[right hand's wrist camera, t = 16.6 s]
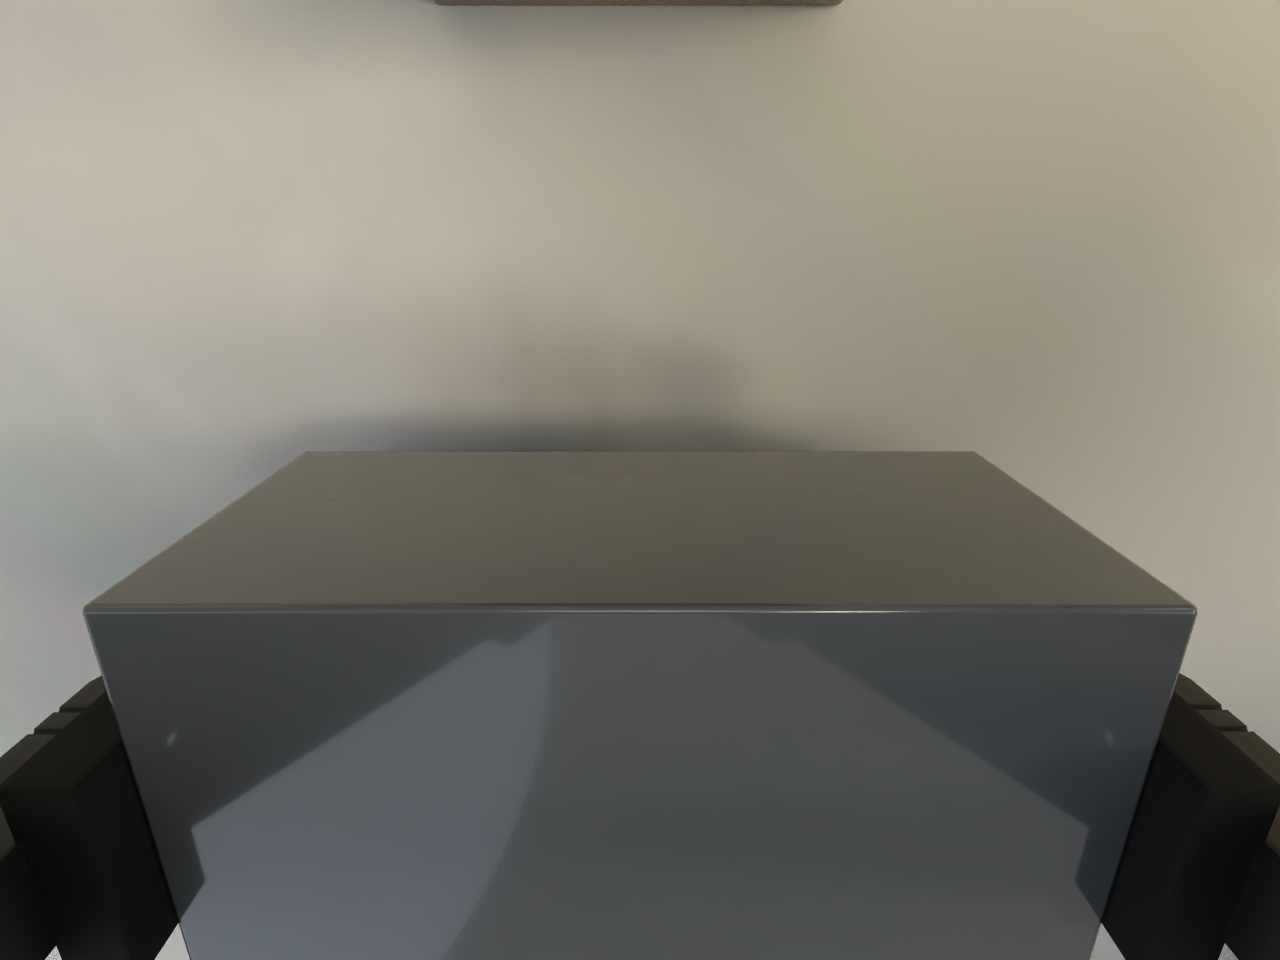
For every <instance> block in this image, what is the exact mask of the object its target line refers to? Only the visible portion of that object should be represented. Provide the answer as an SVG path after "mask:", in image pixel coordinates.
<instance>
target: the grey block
mask: <svg viewBox="0 0 1280 960" xmlns="http://www.w3.org/2000/svg"><path fill="white" fill-rule="evenodd" d="M83 616H84V619H85V622H86V625H87V629H88V632H89V635H90V638H91V641H92V645H93V648H94V651H95V654H96V658H97V661H98V664H99V667H100V670H101V674H102V677H103V680H104V683H105V687H106V690H107V693H108V696H109V699H110V703H111V706H112V709H113V712H114V716H115V719H116V722H117V725H118V728H119V732H120V735H121V738H122V741H123V745H124V748H125V751H126V754H127V758H128V761H129V764H130V767H131V770H132V774H133V777H134V780H135V783H136V787H137V790H138V793H139V796H140V799H141V803H142V806H143V809H144V812H145V816H146V819H147V822H148V825H149V828H150V832H151V835H152V838H153V841H154V845H155V848H156V851H157V854H158V857H159V861H160V864H161V867H162V870H163V874H164V877H165V880H166V883H167V886H168V890H169V893H170V896H171V899H172V903H173V906H174V909H175V912H176V915H177V919H178V922H179V925H180V928H181V932H182V935H183V938H184V941H185V944H186V948H187V951H188V954H189V957H190V960H1090V958H1091V955H1092V951H1093V948H1094V945H1095V942H1096V938H1097V935H1098V932H1099V929H1100V926H1101V922H1102V919H1103V916H1104V913H1105V909H1106V906H1107V903H1108V900H1109V897H1110V893H1111V890H1112V887H1113V884H1114V880H1115V877H1116V874H1117V871H1118V868H1119V864H1120V861H1121V858H1122V855H1123V851H1124V848H1125V845H1126V842H1127V839H1128V835H1129V832H1130V829H1131V826H1132V822H1133V819H1134V816H1135V813H1136V810H1137V806H1138V803H1139V800H1140V797H1141V793H1142V790H1143V787H1144V784H1145V781H1146V777H1147V774H1148V771H1149V768H1150V765H1151V761H1152V758H1153V755H1154V752H1155V748H1156V745H1157V742H1158V739H1159V736H1160V732H1161V729H1162V726H1163V723H1164V719H1165V716H1166V713H1167V710H1168V707H1169V703H1170V700H1171V697H1172V694H1173V690H1174V687H1175V684H1176V681H1177V678H1178V674H1179V671H1180V668H1181V665H1182V661H1183V658H1184V655H1185V652H1186V649H1187V645H1188V642H1189V639H1190V636H1191V632H1192V629H1193V626H1194V623H1195V620H1196V616H1197V608H1196V606H1195V605H1194V604H1193V603H1191V602H1190V601H1188V600H1187V599H1185V598H1184V597H1183V596H1181V595H1180V594H1178V593H1177V592H1175V591H1174V590H1173V589H1171V588H1170V587H1168V586H1167V585H1165V584H1164V583H1163V582H1161V581H1160V580H1158V579H1157V578H1155V577H1154V576H1152V575H1151V574H1150V573H1148V572H1147V571H1145V570H1144V569H1142V568H1141V567H1140V566H1138V565H1137V564H1135V563H1134V562H1132V561H1131V560H1130V559H1128V558H1127V557H1125V556H1124V555H1122V554H1121V553H1120V552H1118V551H1117V550H1115V549H1114V548H1112V547H1111V546H1109V545H1108V544H1107V543H1105V542H1104V541H1102V540H1101V539H1099V538H1098V537H1097V536H1095V535H1094V534H1092V533H1091V532H1089V531H1088V530H1087V529H1085V528H1084V527H1082V526H1081V525H1079V524H1078V523H1076V522H1075V521H1074V520H1072V519H1071V518H1069V517H1068V516H1066V515H1065V514H1064V513H1062V512H1061V511H1059V510H1058V509H1056V508H1055V507H1054V506H1052V505H1051V504H1049V503H1048V502H1046V501H1045V500H1044V499H1042V498H1041V497H1039V496H1038V495H1036V494H1035V493H1033V492H1032V491H1031V490H1029V489H1028V488H1026V487H1025V486H1023V485H1022V484H1021V483H1019V482H1018V481H1016V480H1015V479H1013V478H1012V477H1011V476H1009V475H1008V474H1006V473H1005V472H1003V471H1002V470H1001V469H999V468H998V467H996V466H995V465H993V464H992V463H990V462H989V461H988V460H986V459H985V458H983V457H982V456H980V455H979V454H978V453H976V452H304V453H302V454H301V455H300V456H298V457H297V458H295V459H294V460H292V461H291V462H290V463H288V464H287V465H285V466H284V467H282V468H281V469H280V470H278V471H277V472H275V473H274V474H272V475H271V476H269V477H268V478H267V479H265V480H264V481H262V482H261V483H259V484H258V485H257V486H255V487H254V488H252V489H251V490H249V491H248V492H247V493H245V494H244V495H242V496H241V497H239V498H238V499H237V500H235V501H234V502H232V503H231V504H229V505H228V506H226V507H225V508H224V509H222V510H221V511H219V512H218V513H216V514H215V515H214V516H212V517H211V518H209V519H208V520H206V521H205V522H204V523H202V524H201V525H199V526H198V527H196V528H195V529H193V530H192V531H191V532H189V533H188V534H186V535H185V536H183V537H182V538H181V539H179V540H178V541H176V542H175V543H173V544H172V545H171V546H169V547H168V548H166V549H165V550H163V551H162V552H161V553H159V554H158V555H156V556H155V557H153V558H152V559H150V560H149V561H148V562H146V563H145V564H143V565H142V566H140V567H139V568H138V569H136V570H135V571H133V572H132V573H130V574H129V575H128V576H126V577H125V578H123V579H122V580H120V581H119V582H117V583H116V584H115V585H113V586H112V587H110V588H109V589H107V590H106V591H105V592H103V593H102V594H100V595H99V596H97V597H96V598H95V599H93V600H92V601H90V602H89V603H87V604H86V605H85V606H84V608H83Z"/></svg>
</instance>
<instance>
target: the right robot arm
mask: <svg viewBox="0 0 1280 960" xmlns="http://www.w3.org/2000/svg"><path fill="white" fill-rule="evenodd" d="M178 923H179V922H178V919H177V915H176V912H175V909H174V906H173V903H172V899H171V896H170V893H169V890H168V886H167V883H166V880H165V877H164V874H163V870H162V867H161V864H160V861H159V857H158V854H157V851H156V848H155V845H154V841H153V838H152V835H151V832H150V828H149V825H148V822H147V819H146V816H145V812H144V809H143V806H142V803H141V799H140V796H139V793H138V790H137V787H136V783H135V780H134V777H133V774H132V770H131V767H130V764H129V761H128V758H127V754H126V751H125V748H124V745H123V741H122V738H121V735H120V732H119V728H118V725H117V722H116V719H115V716H114V712H113V709H112V706H111V703H110V699H109V696H108V693H107V690H106V687H105V683H104V680H103V677H102V676H100V677H98V678H96V679H94V680H93V681H91V682H89V683H88V684H87V685H86V686H84V687H83V688H82V689H81V690H80V691H79V692H77V693H76V694H75V695H74V696H73V697H71V698H70V699H69V700H68V701H67V702H66V703H64V704H63V705H62V706H61V707H60V710H59V712H58V713H52V714H51V715H50V716H49V717H48V718H47V719H45V720H44V721H43V722H42V723H41V724H39V725H38V726H37V727H36V728H35V729H34V733H33V734H28V735H26V736H25V737H24V738H23V739H22V740H20V741H19V742H18V743H17V744H16V745H15V746H13V747H12V748H11V749H10V750H9V751H7V752H6V753H5V754H4V755H3V756H2V757H0V960H45V959H46V957H47V956H48V955H49V954H50V952H51V951H52V950H53V949H54V947H55V946H57V948H58V951H59V953H60V956H61V958H62V960H154V959H155V958H156V956H157V955H158V953H159V952H160V950H161V949H162V947H163V946H164V944H165V943H166V941H167V939H168V938H169V936H170V935H171V933H172V932H173V930H174V929H175V927H176V926H177V924H178ZM1101 923H1102V924H1103V926H1104V927H1105V929H1106V930H1107V932H1108V933H1109V935H1110V936H1111V938H1112V939H1113V941H1114V943H1115V944H1116V946H1117V947H1118V949H1119V950H1120V952H1121V953H1122V955H1123V956H1124V958H1125V959H1126V960H1218V958H1219V956H1220V953H1221V951H1222V948H1223V946H1224V943H1226V945H1227V946H1228V947H1229V948H1230V950H1231V951H1232V952H1233V953H1234V955H1235V956H1236V957H1237V958H1238V959H1239V960H1280V754H1279V753H1278V752H1277V751H1276V750H1274V749H1273V748H1272V747H1271V746H1270V745H1269V744H1267V743H1266V742H1265V741H1264V740H1263V739H1261V738H1260V737H1259V736H1258V735H1257V734H1255V733H1254V732H1248V731H1247V726H1246V725H1245V724H1243V723H1242V722H1241V721H1240V720H1239V719H1238V718H1236V717H1235V716H1234V715H1233V714H1232V713H1230V712H1229V711H1228V710H1222V708H1221V704H1220V703H1218V702H1217V701H1216V700H1215V699H1214V698H1212V697H1211V696H1210V695H1209V694H1208V693H1206V692H1205V691H1204V690H1203V689H1202V688H1201V687H1199V686H1198V685H1197V684H1196V683H1195V682H1193V681H1192V680H1191V679H1189V678H1187V677H1185V676H1184V675H1182V674H1180V673H1179V674H1178V678H1177V681H1176V684H1175V687H1174V690H1173V694H1172V697H1171V700H1170V703H1169V707H1168V710H1167V713H1166V716H1165V719H1164V723H1163V726H1162V729H1161V732H1160V736H1159V739H1158V742H1157V745H1156V748H1155V752H1154V755H1153V758H1152V761H1151V765H1150V768H1149V771H1148V774H1147V777H1146V781H1145V784H1144V787H1143V790H1142V793H1141V797H1140V800H1139V803H1138V806H1137V810H1136V813H1135V816H1134V819H1133V822H1132V826H1131V829H1130V832H1129V835H1128V839H1127V842H1126V845H1125V848H1124V851H1123V855H1122V858H1121V861H1120V864H1119V868H1118V871H1117V874H1116V877H1115V880H1114V884H1113V887H1112V890H1111V893H1110V897H1109V900H1108V903H1107V906H1106V909H1105V913H1104V916H1103V919H1102V922H1101Z"/></svg>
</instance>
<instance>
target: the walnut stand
mask: <svg viewBox="0 0 1280 960" xmlns="http://www.w3.org/2000/svg"><path fill="white" fill-rule="evenodd" d="M434 1H435V2H436V3H437V4H439V5H838V4H840V3H841V2H842V1H843V0H434Z"/></svg>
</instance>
